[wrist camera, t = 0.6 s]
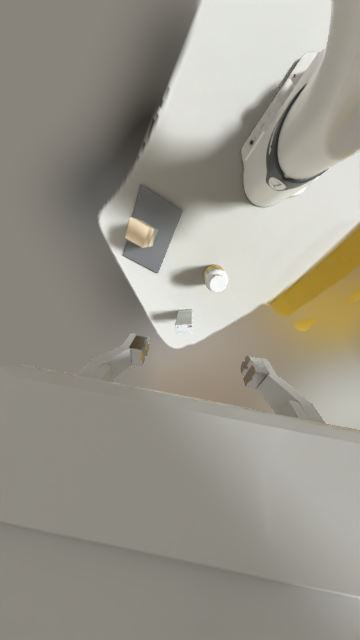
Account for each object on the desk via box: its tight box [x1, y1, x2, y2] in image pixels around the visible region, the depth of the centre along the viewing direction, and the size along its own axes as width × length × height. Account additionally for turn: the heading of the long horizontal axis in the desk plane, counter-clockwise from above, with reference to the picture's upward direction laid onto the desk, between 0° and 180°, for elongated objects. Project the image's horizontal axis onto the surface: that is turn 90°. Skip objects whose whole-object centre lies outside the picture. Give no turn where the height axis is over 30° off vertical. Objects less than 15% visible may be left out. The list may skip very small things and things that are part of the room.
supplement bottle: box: [204, 265, 228, 292], centre depth 43 cm, size 7×7×13 cm
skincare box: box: [175, 310, 193, 334], centre depth 52 cm, size 6×4×12 cm
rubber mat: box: [123, 184, 182, 273], centre depth 44 cm, size 20×13×1 cm, turn 153°
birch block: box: [125, 217, 158, 248], centre depth 39 cm, size 5×5×10 cm
